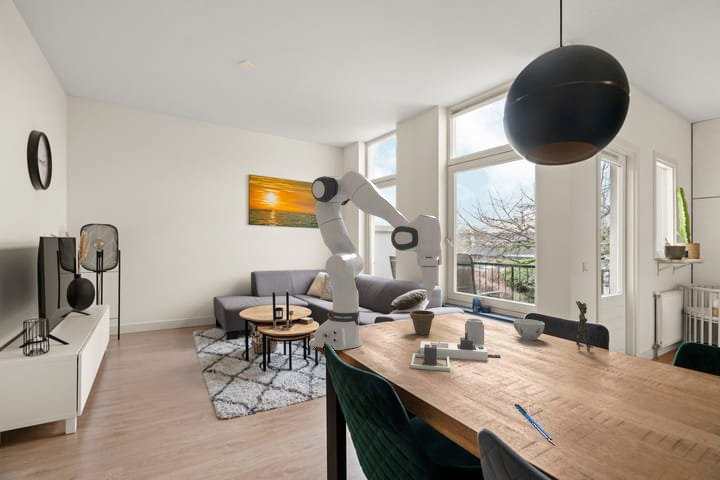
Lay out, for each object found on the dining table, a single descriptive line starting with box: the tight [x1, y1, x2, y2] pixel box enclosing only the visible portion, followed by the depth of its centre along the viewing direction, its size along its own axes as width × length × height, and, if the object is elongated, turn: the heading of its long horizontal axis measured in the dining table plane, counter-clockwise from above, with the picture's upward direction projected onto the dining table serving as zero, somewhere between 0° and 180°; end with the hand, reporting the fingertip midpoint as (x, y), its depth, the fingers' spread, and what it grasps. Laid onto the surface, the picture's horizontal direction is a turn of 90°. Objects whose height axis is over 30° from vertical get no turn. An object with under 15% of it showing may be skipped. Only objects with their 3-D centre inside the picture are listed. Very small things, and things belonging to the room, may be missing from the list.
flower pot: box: [409, 309, 435, 336], centre depth 170 cm, size 12×11×10 cm
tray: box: [410, 352, 451, 372], centre depth 125 cm, size 13×13×2 cm
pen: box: [514, 403, 553, 440], centre depth 85 cm, size 1×19×1 cm, turn 1°
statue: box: [575, 300, 595, 352], centre depth 142 cm, size 5×6×20 cm
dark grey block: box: [423, 344, 438, 366], centre depth 125 cm, size 4×4×6 cm
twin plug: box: [459, 331, 473, 350], centre depth 134 cm, size 4×4×8 cm
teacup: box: [512, 318, 546, 341], centre depth 161 cm, size 15×12×8 cm
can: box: [464, 318, 485, 345], centre depth 144 cm, size 8×8×12 cm
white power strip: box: [419, 340, 501, 361], centre depth 134 cm, size 29×9×5 cm, turn 77°
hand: (430, 298), depth 127 cm, fingers open, 8 cm apart
